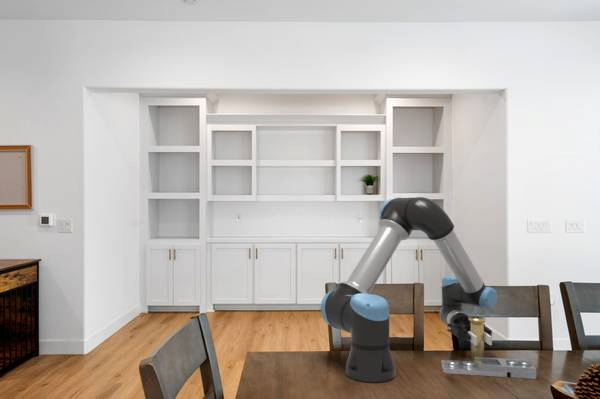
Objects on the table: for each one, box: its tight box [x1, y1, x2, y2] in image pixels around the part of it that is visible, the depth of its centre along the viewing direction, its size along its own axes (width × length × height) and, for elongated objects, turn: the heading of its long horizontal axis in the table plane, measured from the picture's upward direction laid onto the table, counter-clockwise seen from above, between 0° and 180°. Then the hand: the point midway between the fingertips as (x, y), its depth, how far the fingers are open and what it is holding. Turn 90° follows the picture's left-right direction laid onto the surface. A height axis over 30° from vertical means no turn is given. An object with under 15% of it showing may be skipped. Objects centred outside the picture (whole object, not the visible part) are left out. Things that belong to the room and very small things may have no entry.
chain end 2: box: [474, 356, 537, 380], centre depth 139 cm, size 16×8×4 cm, turn 78°
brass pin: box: [469, 315, 486, 362], centre depth 150 cm, size 5×5×14 cm
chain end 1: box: [440, 359, 508, 378], centre depth 141 cm, size 18×8×2 cm, turn 78°
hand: (483, 340), depth 145 cm, fingers closed on brass pin, 4 cm apart
